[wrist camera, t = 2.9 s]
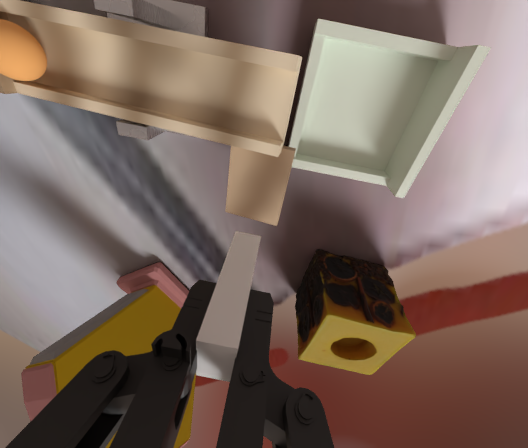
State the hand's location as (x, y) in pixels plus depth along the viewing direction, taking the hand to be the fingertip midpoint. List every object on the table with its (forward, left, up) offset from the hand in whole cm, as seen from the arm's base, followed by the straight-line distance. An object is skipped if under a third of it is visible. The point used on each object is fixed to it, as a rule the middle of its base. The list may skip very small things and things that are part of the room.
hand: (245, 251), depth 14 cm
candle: (+13, -15, -14) cm, 24 cm away
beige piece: (-10, +4, -11) cm, 15 cm away
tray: (+7, +7, -14) cm, 17 cm away
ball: (-19, +7, -8) cm, 22 cm away
